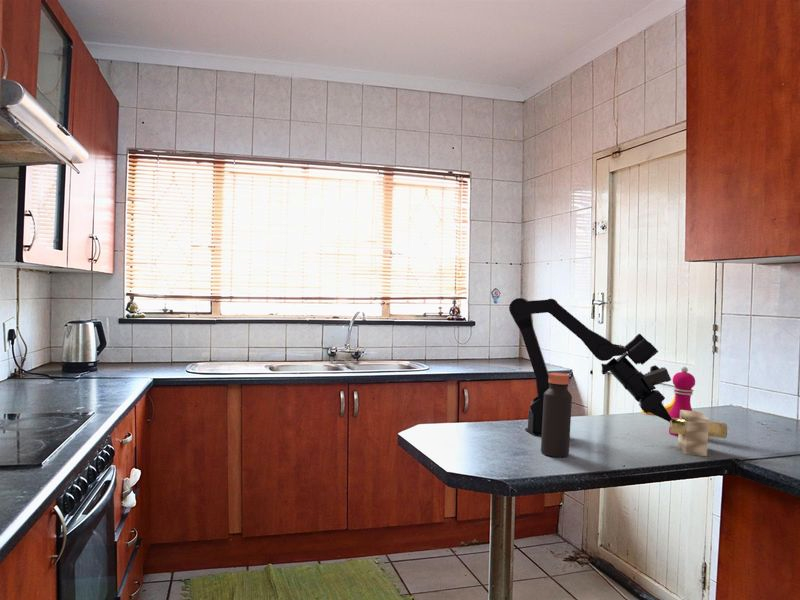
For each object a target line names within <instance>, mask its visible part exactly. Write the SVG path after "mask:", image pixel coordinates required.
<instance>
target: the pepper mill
mask: <svg viewBox="0 0 800 600" xmlns="http://www.w3.org/2000/svg"><path fill="white" fill-rule="evenodd" d="M688 371H689V370H688V367H686V366H683V367H681V369H680V372H679V371H678V372H676V373H674V375H673V377H672V384H673V385H674V388H673V393H674V396H675V402H674V405H673V407H672V409H671V410H670V412H669V415H670V417H671V418H679V419H680V410H688V411H693V408H692V405H691V398H692V395H694V394H693V387H694V386H696V379H695V377H694V375H693V374H692V373H689V372H688ZM668 423H669V424H670V422H668ZM668 433H669V434H670V435H672V436H675V437H676V436H677V437H678V436H679V434H677V433H671V432H670V426H668Z"/></svg>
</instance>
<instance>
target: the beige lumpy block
mask: <svg viewBox="0 0 800 600" xmlns="http://www.w3.org/2000/svg"><path fill="white" fill-rule="evenodd" d="M680 419H685V434H679V436H677V438H678V440H677V445H679V447H680V449H681V451H682V452H683V453H684V454H685V455H691V456H701V457H708V446H709V445H708V443H709V437H708V430H709V422H710V419H709V418H708V417H707V416H706V415H704V414H703V413H702V412H701V411H696V410H692V411H688V410H680Z"/></svg>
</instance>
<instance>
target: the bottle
mask: <svg viewBox="0 0 800 600" xmlns="http://www.w3.org/2000/svg"><path fill="white" fill-rule="evenodd" d="M548 373H549V380H548V382H549V384H550V386H549V389H547V390H546V391H545V392H544V401H543V420H542V435H541V442H540V452H541V453H542V454H543V455H545V456H548V457H552V458H553V457H554V458H565V457H568V456H569V455H570V440H571V422H572V406H573V405H572V404H573V403H572V402H573V401H572V400H573V395H572V393H571V392H570V391H569V389H568V386H569V384H570V374H567V373H563V372H562V373H561V372H548Z"/></svg>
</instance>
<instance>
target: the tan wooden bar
mask: <svg viewBox="0 0 800 600" xmlns="http://www.w3.org/2000/svg"><path fill="white" fill-rule="evenodd" d="M669 427H670V432H671V433H677V434H685V419H679V418H672V420H671V421H670V423H669ZM727 437H728V424H727V423H726V422H718V421H709V430H708V438H715V439H716V438H717V439H723V440H725V439H727Z"/></svg>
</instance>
